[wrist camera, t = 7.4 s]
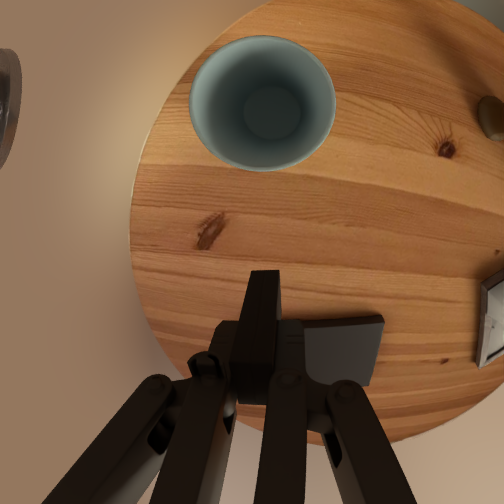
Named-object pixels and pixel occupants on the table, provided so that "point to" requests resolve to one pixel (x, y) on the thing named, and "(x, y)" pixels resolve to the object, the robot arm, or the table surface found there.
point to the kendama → (491, 117)
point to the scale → (342, 348)
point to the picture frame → (491, 320)
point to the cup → (262, 103)
